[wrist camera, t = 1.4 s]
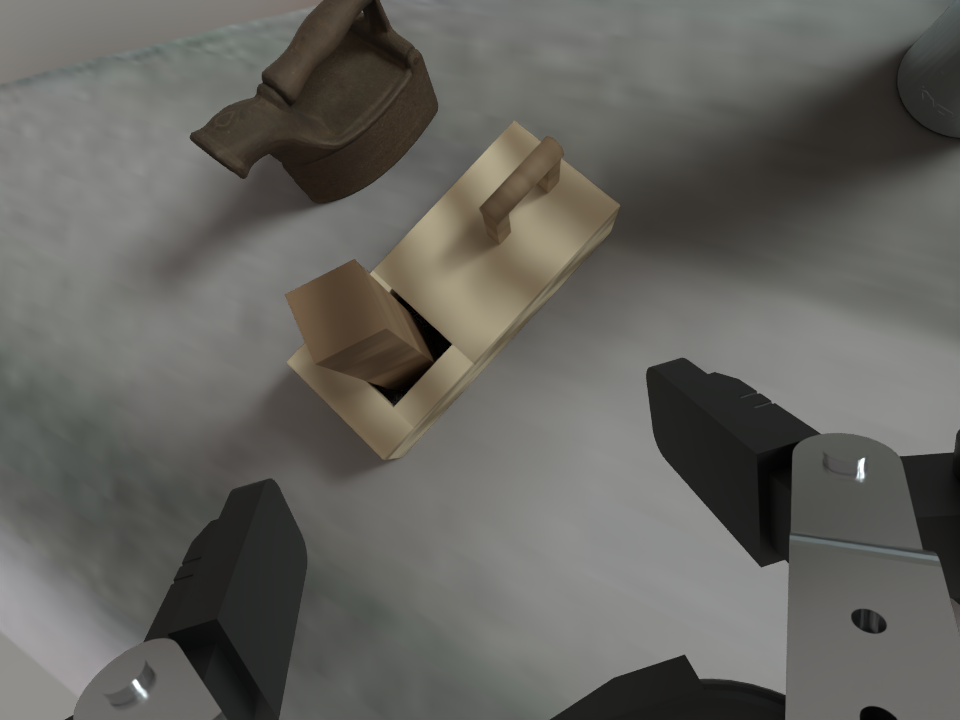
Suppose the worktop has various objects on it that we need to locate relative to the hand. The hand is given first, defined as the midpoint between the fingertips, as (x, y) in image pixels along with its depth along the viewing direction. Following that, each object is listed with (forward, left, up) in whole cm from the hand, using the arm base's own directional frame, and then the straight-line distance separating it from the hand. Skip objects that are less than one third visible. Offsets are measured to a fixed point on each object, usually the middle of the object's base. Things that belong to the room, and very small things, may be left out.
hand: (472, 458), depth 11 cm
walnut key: (+1, -11, -30) cm, 32 cm away
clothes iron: (-9, -27, -30) cm, 42 cm away
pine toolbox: (-5, -11, -30) cm, 32 cm away
